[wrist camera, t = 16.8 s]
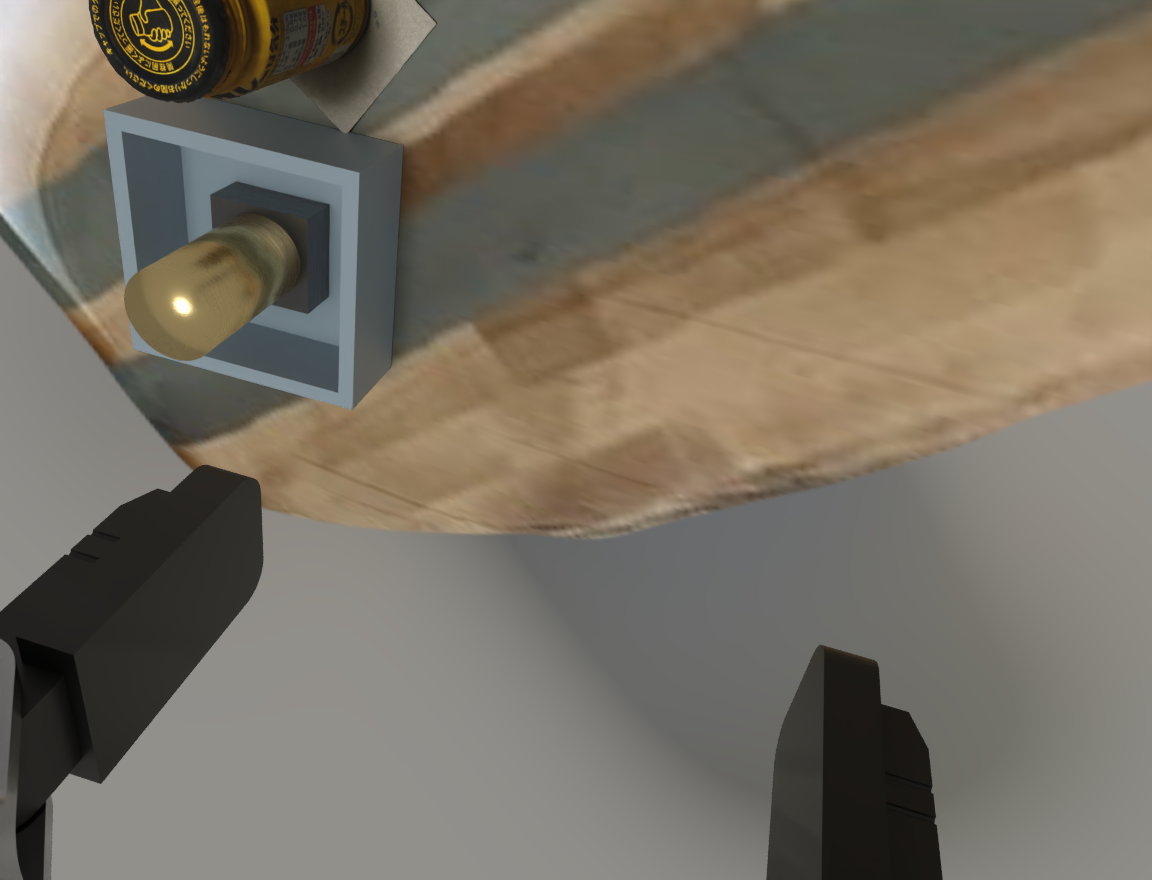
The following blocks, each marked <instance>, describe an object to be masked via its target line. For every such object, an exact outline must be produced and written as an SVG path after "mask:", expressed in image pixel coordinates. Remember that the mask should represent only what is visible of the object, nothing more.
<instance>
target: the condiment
mask: <svg viewBox="0 0 1152 880" xmlns="http://www.w3.org/2000/svg"><path fill="white" fill-rule="evenodd" d="M89 11H90V15H91V20H92V24H93V28H94V34H95V37H96V39H97V41H98V43H99V45H100V47H101V49H102V51H103V52H104V54H105V55H106V57H107V59H108V61H109V63H110V64H111V65H112V67H113V68H114V69H115V71H116V72H117V73H118V74H119V75H120V76H121V77H122V78H123V79H125V80H126V81H127V82H128V83H129V84H130V85H131V86H132V87H133V88H135V89H136V90H138V91H139V92H141V93H143V94H145V95H146V96H148V97H151V98H154V99H157V100H161V101H165V102H170V101H173V102H175V103H184V102H186V103H189V102H193V101H195V100H196V99H201V98H203V97H204V98H207V99H231V98H234V97H240V96H241V95H245V94H247V93H250V92H253V91H255V90H258V89H260V88H263V87H266V86H268V85H271V84H274V83H277V82H279V81H282V80H285V79H287V78H290V79H291V80H292V81H293V82H294V83H295V84H296V85H297V86H298V87H299V88H300V89H301V90H302V91H303V92H304V93H305V94H306V95H307V96H308V97H309V98H310V99H311V100H312V101H313V102H314V103H315V104H316V105H317V106H318V107H319V108H320V109H321V110H322V111H323V113H324V114H325V115H326V116H327V117H328V118H329V120H330V121H331V122H332V123H334V124H335V125H336V126H337V127H338V128H339V129H340V130H341V131H342V132H344V133H348V132H349V131H350V130H351V128H352V127H353V126H354V124H355V123H356V122H357V121H358V120H359V119H360V118H361V116H362V115H363V114H364V113H365V112H366V110H367V109H368V108H369V107H370V105H371V104H372V103H373V101H374V100H375V99H376V98H377V97H378V96H379V95H380V93H381V92H382V91H383V90H384V88H385V87H386V86H387V85H388V83H389V82H390V81H391V80H392V78H393V77H394V76H395V75H396V74H397V72H398V71H400V69H401V67H402V66H403V65H404V63H405V62H406V61H407V60H408V58H409V57H410V56H411V55H412V54H413V52H414V51H415V50H416V49H417V48H418V46H419V45H420V44H421V42H422V41H423V40H424V38H425V37H426V36H427V35H428V33H429V32H430V31H431V30H432V28H433V27H434V26H435V25H436V23H435V22H434V21H433V19H432V18H431V17H430V16H429V15H428V14H427V13H426V12H425V11H424V10H423V9H422V8H421V7H420V6H419V4H418V3H417V2H416V1H415V0H89ZM374 11H375V12H376V13H377V17H376V18H375V17H374V16H373V12H374ZM376 20H377V21H378V22H379V28H378V29H377V28H376V24H375V22H376Z"/></svg>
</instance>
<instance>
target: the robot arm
mask: <svg viewBox="0 0 1152 880" xmlns="http://www.w3.org/2000/svg"><path fill="white" fill-rule="evenodd" d="M261 511H262V510H261V490H260V485H259V483H258V481H257V480H256V479H254V478H251V477H247V476H244V475H240V474H237V473H233V472H230V471H227V470H223V469H220V468H216V467H213V466H209V465H202V466H200V467H198V468H196V469H195V470H194V471H193V472H192V473H191V474H189V475H188V476H187V477H186V478H185V479H184V480H183V481H182V482H181V483H180V484H179V485H178V486H176V487H175V488H174V489H173V490H172V491H171V492H168V491H164V490H161V489H156V490H153V491H151V492H149V493H147V494H145V495H142V496H140V497H138V498H136V499H134V500H132V501H129V502H127V503H125V504H123V505H121V506H119V507H118V508H117V509H116V510H115V511H114V512H113V513H112V514H110V515H109V516H108V517H107V518H106V519H105V520H104V521H103V522H101V523H100V524H99V525H98V526H97V527H96V528H95V529H93V533H92V535H87V536H86V537H84V538H83V539H82V540H81V541H80V542H79V543H78V544H77V545H75V546H74V547H73V548H72V549H71V553H70V554H69V555H64V556H63V557H62V558H61V559H60V560H58V561H57V562H56V563H55V564H54V565H53V566H51V567H50V568H49V569H48V570H47V571H46V572H45V573H44V574H42V575H41V576H40V577H39V578H38V579H37V580H36V581H34V582H33V583H32V585H30V586H29V587H28V588H27V589H25V590H24V591H23V592H22V593H21V594H20V595H19V596H18V597H16V598H15V599H14V600H13V601H12V602H11V603H10V604H8V606H6V607H5V608H4V609H3V610H2V611H1V612H0V880H51V860H52V823H53V803H52V797H51V794H52V793H53V792H54V791H55V790H56V788H57V787H58V786H59V785H60V784H61V783H62V781H63V780H64V779H65V778H66V777H67V776H68V774H69V773H70V774H73V775H76V776H79V777H82V778H85V779H88V780H91V781H94V782H97V783H100V784H101V783H102V782H103V781H104V780H105V778H106V777H107V776H108V775H109V773H110V772H111V771H112V770H113V768H114V767H115V766H116V765H117V763H118V762H119V761H120V760H121V759H122V757H123V756H124V755H125V754H126V752H127V751H128V750H129V749H130V747H131V746H132V745H133V744H134V742H135V741H136V740H137V739H138V737H139V736H140V735H141V734H142V732H143V731H144V730H145V728H147V726H148V725H149V724H150V723H151V721H152V720H153V719H154V718H155V716H156V715H157V714H158V713H159V711H160V710H161V709H162V708H163V706H164V705H165V704H166V703H167V701H168V700H169V699H170V698H171V697H172V695H173V694H174V693H175V692H176V690H177V689H178V688H179V687H180V685H181V684H182V683H183V682H184V680H185V679H186V678H187V677H188V675H189V674H190V673H191V672H192V670H193V669H194V668H195V667H196V666H197V664H198V663H199V662H200V661H201V659H202V658H203V657H204V655H205V654H206V653H207V652H208V651H209V649H210V648H211V647H212V646H213V644H214V643H215V642H216V641H217V640H218V638H219V637H220V636H221V635H222V633H223V632H224V631H225V630H226V628H227V627H228V626H229V625H230V623H231V622H232V621H233V620H234V618H235V617H236V616H237V615H238V613H239V612H240V611H241V610H242V609H243V607H244V606H245V605H246V604H247V602H248V601H249V599H250V598H251V596H252V595H253V593H254V591H255V589H256V587H257V584H258V582H259V578H260V576H261V572H262V567H263V539H262V538H263V536H262V512H261ZM931 789H932V777H931V769H930V759H929V750H928V748H927V746H926V744H925V742H924V740H923V738H922V736H921V734H920V733H919V731H918V729H917V727H916V725H915V723H914V721H913V720H912V717H911V716H910V714H909V712H906V711H903V710H900V709H896V708H893V707H889V706H886V705H883V704H881V697H880V679H879V668H878V664H877V662H876V661H875V660H872V659H868V658H865V657H861V656H858V655H854V654H851V653H848V652H844V651H841V650H837V649H834V648H830V647H827V646H823V645H819V646H818V647H817V648H816V650H815V652H814V654H813V656H812V658H811V660H810V663H809V665H808V667H807V670H806V672H805V674H804V676H803V678H802V681H801V683H800V685H799V688H798V690H797V692H796V694H795V697H794V699H793V701H792V703H791V706H790V708H789V710H788V712H787V715H786V717H785V719H784V722H783V725H782V728H781V732H780V736H779V739H778V744H777V749H776V754H775V762H774V774H773V790H772V805H771V819H770V834H769V849H768V850H769V851H768V864H767V880H942V870H941V860H940V851H939V842H938V833H937V825H935V824H934V821H935V817H936V814H935V805H934V797H933V794H932V793H931Z"/></svg>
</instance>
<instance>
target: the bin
mask: <svg viewBox="0 0 1152 880" xmlns="http://www.w3.org/2000/svg"><path fill="white" fill-rule="evenodd" d="M104 118H105V126H106V134H107V142H108V150H109V158H110V166H111V174H112V182H113V190H114V198H115V206H116V214H117V222H118V230H119V238H120V247H121V255H122V263H123V271H124V279H125V287H126V286H127V283H128V281H129V280H130V278H131V277H132V276H133V275H134V274H136V273H137V272H139V271H140V270H142V269H144V268H146V267H147V266H149V265H151V264H153V263H155V262H156V261H158V260H160V259H162V258H163V257H165V256H167V255H169V254H170V253H172V252H174V251H176V250H177V249H179V248H181V247H183V246H184V245H186V244H188V243H190V242H191V241H193V240H195V239H197V238H198V237H200V236H202V235H204V234H205V233H207V232H209V231H211V230H212V217H211V202H210V194H212V193H214V192H216V191H218V190H220V189H222V188H224V187H226V186H228V185H230V184H232V183H234V182H236V181H237V182H241V183H245V184H249V185H253V186H257V187H261V188H265V189H269V190H273V191H278V192H282V193H286V194H290V195H294V196H298V197H302V198H306V199H310V200H314V201H318V202H322V203H326V204H330V233H329V297H328V298H327V299H326V300H324V301H323V302H322V303H321V304H320V305H318V306H317V307H316V308H315V309H314V310H312V311H311V312H310V313H309V314H305V313H301V312H297V311H294V310H290V309H286V308H282V307H278V306H275V305H270V306H269V307H268V308H266V309H265V310H264V311H262V312H261V313H260V314H258V315H257V316H256V317H254V318H253V319H252V320H251V321H249V322H248V323H247V324H245V325H244V326H243V327H241V328H240V329H239V330H237V331H236V332H235V333H234V334H232V335H231V336H230V337H228V338H227V339H226V340H224V341H223V342H222V343H220V344H219V345H218V346H216V347H215V348H214V349H213V350H211V351H210V352H209V353H207V354H206V355H205V356H203V357H201V358H199V359H196V360H192V361H180V360H176V359H172V358H169V357H167V356H165V355H162V354H161V353H159V352H157V351H156V350H154V349H153V348H152V347H150V346H149V345H148V344H147V343H146V342H145V341H144V340H143V339H142V338H141V337H140V336H139V334H138V333H137V332H136V330H135V329H134V327H133V326H132V324H131V322H130V327H131V335H132V343H133V349H135V350H138V351H142V352H146V353H149V354H153V355H156V356H160V357H164V358H167V359H171V360H174V361H178V362H182V363H185V364H189V365H192V366H196V367H200V368H203V369H207V370H210V371H214V372H218V373H221V374H225V375H228V376H232V377H236V378H239V379H243V380H246V381H250V382H254V383H257V384H261V385H264V386H268V387H272V388H275V389H279V390H283V391H286V392H290V393H293V394H297V395H301V396H304V397H308V398H311V399H315V400H319V401H322V402H326V403H329V404H333V405H337V406H340V407H344V408H347V409H351V410H353V409H354V408H355V406H356V405H357V404H358V403H359V402H360V401H361V400H362V399H363V398H364V396H365V395H366V394H367V393H368V392H369V391H370V390H371V389H372V388H373V386H374V385H375V384H376V383H377V382H378V381H379V380H380V379H381V378H382V376H383V375H384V374H385V373H386V372H387V371H388V370H389V369H390V368H391V358H392V340H393V322H394V304H395V286H396V269H397V251H398V233H399V215H400V197H401V179H402V161H403V145H401V144H396V143H392V142H388V141H384V140H380V139H376V138H372V137H367V136H363V135H359V134H355V133H351V132H348V133H344V132H342V131H341V130H338V129H334V128H330V127H326V126H322V125H318V124H314V123H310V122H305V121H301V120H297V119H293V118H289V117H285V116H281V115H276V114H272V113H268V112H264V111H260V110H256V109H252V108H247V107H243V106H239V105H235V104H231V103H227V102H223V101H219V100H214V99H207V98H204V97H203V98H201V99H196V100H195V101H193V102H189V103H186V102H184V103H175V102H173V101H170V102H165V101H161V100H157V99H154V98H151V97H148V96H144V97H141V98H138V99H135V100H132V101H129V102H126V103H123V104H120V105H116V106H113V107H110V108H107V109H104Z"/></svg>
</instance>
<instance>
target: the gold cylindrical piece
mask: <svg viewBox="0 0 1152 880" xmlns="http://www.w3.org/2000/svg"><path fill="white" fill-rule="evenodd" d="M210 202H211V217H212V230H211V231H209V232H207V233H205V234H204V235H202V236H200V237H198V238H197V239H195V240H193V241H191V242H190V243H188V244H186V245H184V246H183V247H181V248H179V249H177V250H176V251H174V252H172V253H170V254H169V255H167V256H165V257H163V258H162V259H160V260H158V261H156V262H155V263H153V264H151V265H149V266H147V267H146V268H144V269H142V270H140V271H139V272H137V273H136V274H134V275H133V276H132V277H131V278H130V280H129V281H128V283H127V286H126V289H125V295H124V301H125V308H126V312H127V315H128V317H129V320H130V322H131V324H132V326H133V327H134V329H135V330H136V332H137V333H138V334H139V336H140V337H141V338H142V339H143V340H144V341H145V342H146V343H147V344H148V345H149V346H150V347H152V348H153V349H154V350H156V351H157V352H159V353H161V354H162V355H165V356H167V357H169V358H172V359H176V360H180V361H192V360H196V359H199V358H201V357H203V356H205V355H206V354H207V353H209V352H210V351H211V350H213V349H214V348H215V347H216V346H218V345H219V344H220V343H222V342H223V341H224V340H226V339H227V338H228V337H230V336H231V335H232V334H234V333H235V332H236V331H237V330H239V329H240V328H241V327H243V326H244V325H245V324H247V323H248V322H249V321H251V320H252V319H253V318H254V317H256V316H257V315H258V314H260V313H261V312H262V311H264V310H265V309H266V308H268V307H269V306H270V305H275V306H278V307H282V308H286V309H290V310H294V311H297V312H301V313H305V314H309V313H310V312H311V311H312V310H314V309H315V308H316V307H317V306H318V305H320V304H321V303H322V302H323V301H324V300H326V299H327V298H328V297H329V233H330V204H326V203H322V202H318V201H314V200H310V199H306V198H302V197H298V196H294V195H290V194H286V193H282V192H278V191H273V190H269V189H265V188H261V187H257V186H253V185H249V184H245V183H241V182H237V181H236V182H234V183H232V184H230V185H228V186H226V187H224V188H222V189H220V190H218V191H216V192H214V193H212V194H210Z"/></svg>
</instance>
